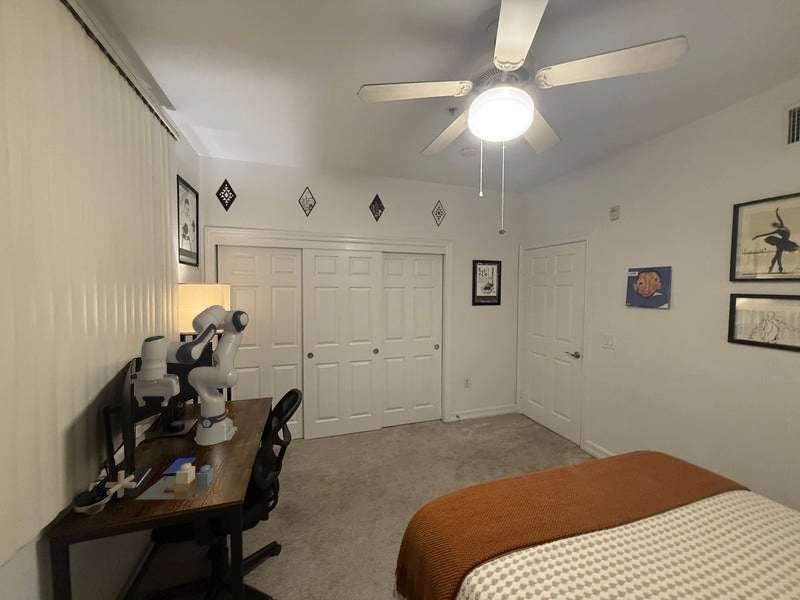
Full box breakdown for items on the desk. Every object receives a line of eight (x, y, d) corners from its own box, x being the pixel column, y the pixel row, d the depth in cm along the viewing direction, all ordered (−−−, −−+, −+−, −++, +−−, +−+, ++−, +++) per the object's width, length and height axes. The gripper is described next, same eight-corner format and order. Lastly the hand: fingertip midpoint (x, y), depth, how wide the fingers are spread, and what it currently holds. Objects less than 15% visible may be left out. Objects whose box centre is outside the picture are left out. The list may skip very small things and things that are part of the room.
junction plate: (164, 478, 130) (164, 475, 130) (217, 477, 131) (217, 475, 131) (135, 501, 115) (135, 498, 115) (195, 500, 116) (196, 497, 116)
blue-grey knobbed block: (202, 478, 129) (203, 464, 129) (213, 478, 129) (213, 464, 129) (196, 484, 125) (196, 470, 125) (207, 484, 125) (207, 469, 125)
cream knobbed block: (183, 477, 123) (183, 462, 123) (194, 477, 123) (195, 462, 123) (176, 483, 118) (176, 468, 118) (187, 483, 119) (188, 468, 119)
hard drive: (183, 471, 133) (196, 457, 146) (162, 473, 132) (177, 458, 144) (183, 475, 133) (196, 460, 146) (162, 476, 132) (177, 462, 144)
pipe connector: (144, 490, 122) (145, 464, 122) (122, 507, 112) (123, 479, 112) (118, 490, 122) (119, 464, 122) (94, 506, 112) (95, 479, 112)
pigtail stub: (168, 486, 123) (168, 476, 123) (196, 486, 123) (197, 476, 123) (158, 495, 118) (158, 484, 118) (188, 495, 118) (188, 484, 118)
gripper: (183, 372, 137) (182, 403, 137) (135, 372, 136) (135, 403, 136) (173, 375, 131) (172, 408, 131) (123, 375, 130) (122, 408, 130)
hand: (153, 405), depth 134 cm, fingers open, 8 cm apart
